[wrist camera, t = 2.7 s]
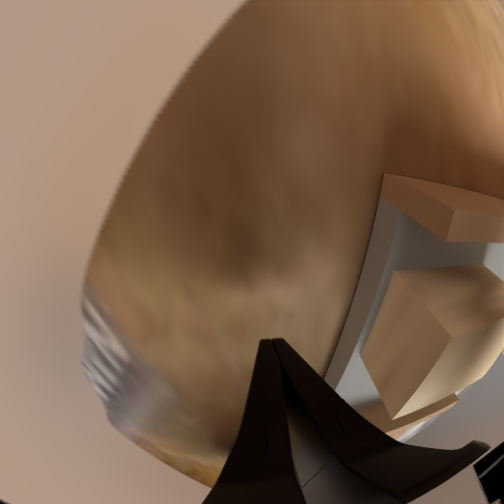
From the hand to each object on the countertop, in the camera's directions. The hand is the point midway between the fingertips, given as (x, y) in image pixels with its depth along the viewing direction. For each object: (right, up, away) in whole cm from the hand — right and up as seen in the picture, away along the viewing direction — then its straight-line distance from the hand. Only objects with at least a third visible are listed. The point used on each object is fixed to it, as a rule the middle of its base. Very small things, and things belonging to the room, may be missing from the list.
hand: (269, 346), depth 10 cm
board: (+14, 0, +5) cm, 15 cm away
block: (+8, +1, +2) cm, 9 cm away
